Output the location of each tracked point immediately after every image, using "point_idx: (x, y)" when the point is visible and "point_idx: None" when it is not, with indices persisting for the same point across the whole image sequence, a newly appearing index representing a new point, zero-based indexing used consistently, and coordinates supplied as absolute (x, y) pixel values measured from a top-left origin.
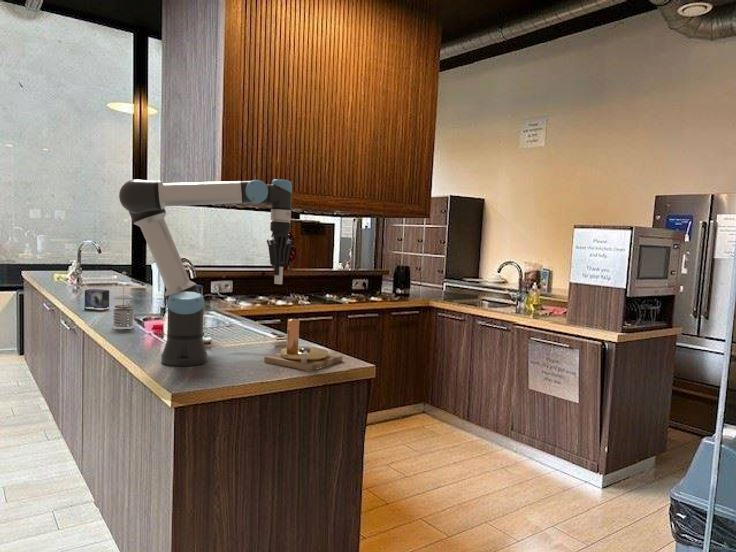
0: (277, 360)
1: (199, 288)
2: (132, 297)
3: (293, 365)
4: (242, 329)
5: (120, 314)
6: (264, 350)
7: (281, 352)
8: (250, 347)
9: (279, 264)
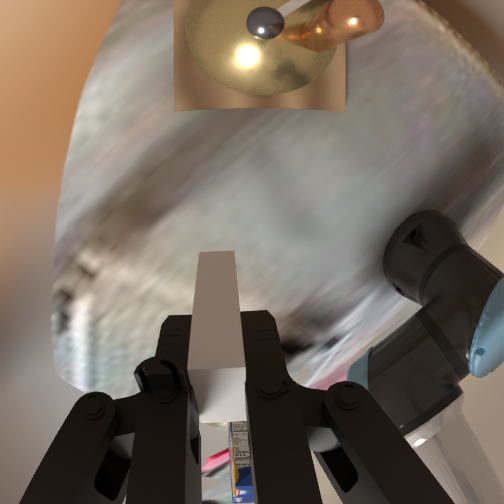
0: (344, 66)
1: (245, 480)
2: None
3: None
4: (102, 384)
5: None
6: (223, 204)
7: (325, 68)
8: None
9: (274, 397)
